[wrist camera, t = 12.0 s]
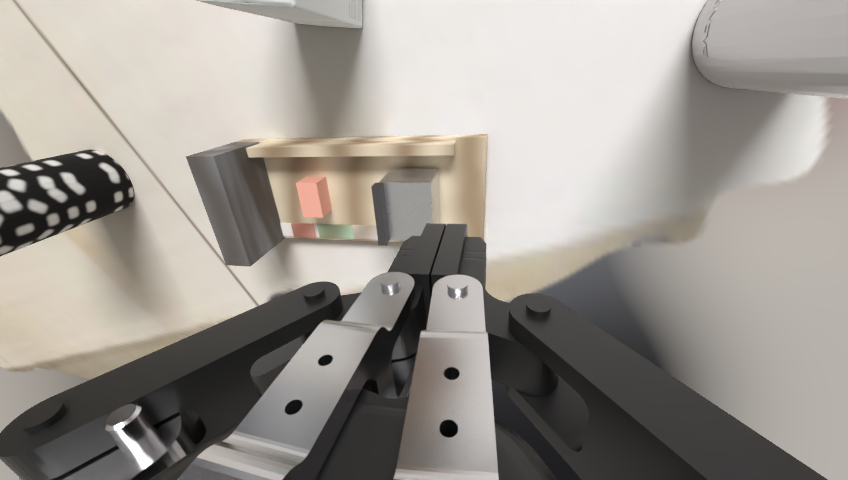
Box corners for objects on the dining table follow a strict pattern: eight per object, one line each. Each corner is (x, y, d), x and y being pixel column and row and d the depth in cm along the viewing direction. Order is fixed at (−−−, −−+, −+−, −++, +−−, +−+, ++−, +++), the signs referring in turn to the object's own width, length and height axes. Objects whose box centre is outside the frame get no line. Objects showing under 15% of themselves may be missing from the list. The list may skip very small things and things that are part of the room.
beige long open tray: (487, 134, 34) (485, 153, 27) (483, 239, 40) (481, 279, 32) (243, 139, 39) (185, 156, 32) (270, 232, 45) (226, 265, 37)
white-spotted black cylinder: (82, 195, 48) (-156, 270, 30) (71, 139, 44) (-211, 188, 26) (136, 217, 48) (-70, 304, 30) (131, 163, 44) (-111, 228, 26)
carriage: (438, 168, 35) (428, 186, 29) (440, 221, 37) (431, 247, 32) (389, 168, 36) (371, 186, 30) (394, 219, 38) (378, 245, 33)
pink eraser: (325, 176, 38) (316, 183, 36) (332, 209, 40) (323, 217, 38) (306, 176, 38) (295, 183, 36) (313, 209, 40) (303, 217, 38)
